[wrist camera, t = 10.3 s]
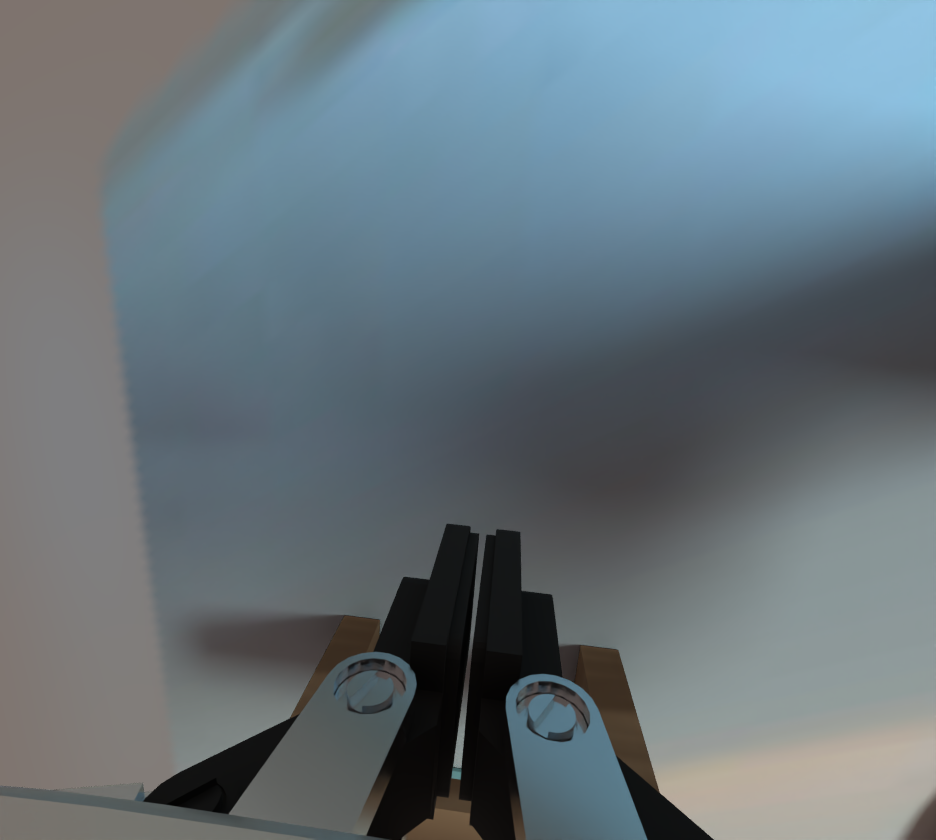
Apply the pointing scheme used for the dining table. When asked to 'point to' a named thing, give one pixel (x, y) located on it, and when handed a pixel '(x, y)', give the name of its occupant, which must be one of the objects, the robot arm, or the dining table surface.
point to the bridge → (595, 674)
